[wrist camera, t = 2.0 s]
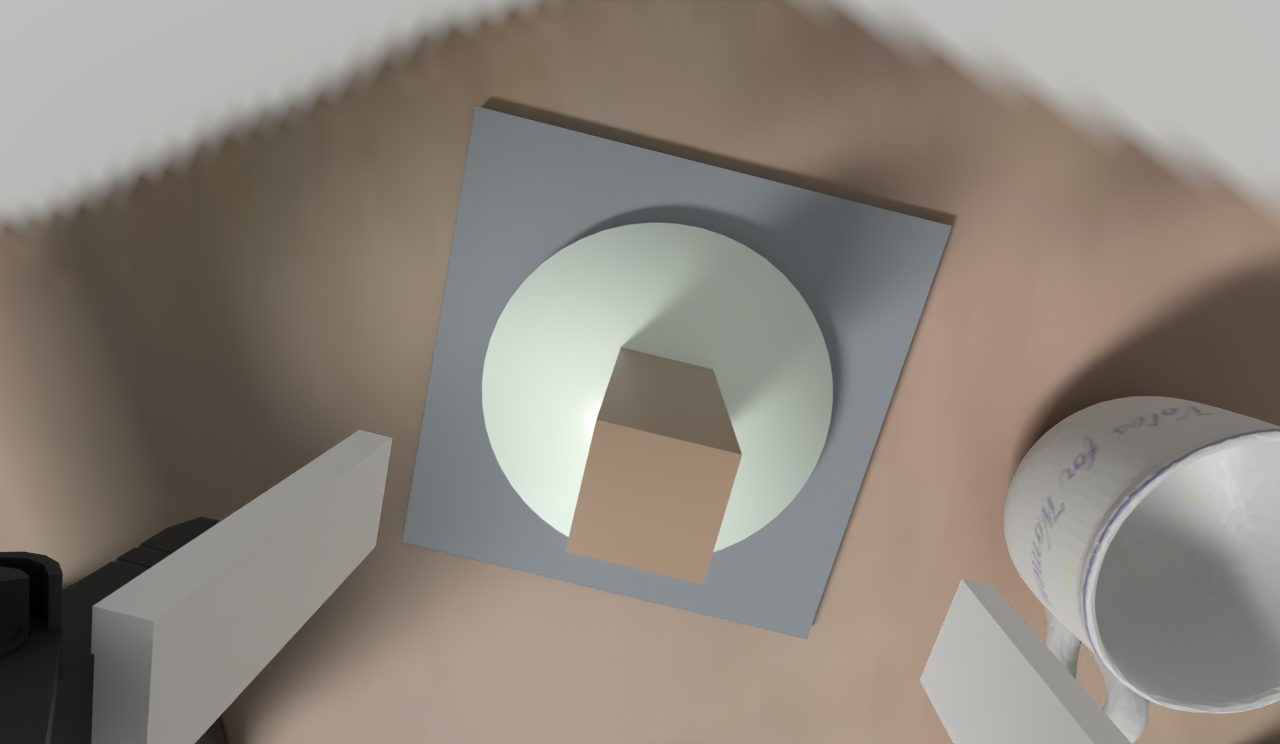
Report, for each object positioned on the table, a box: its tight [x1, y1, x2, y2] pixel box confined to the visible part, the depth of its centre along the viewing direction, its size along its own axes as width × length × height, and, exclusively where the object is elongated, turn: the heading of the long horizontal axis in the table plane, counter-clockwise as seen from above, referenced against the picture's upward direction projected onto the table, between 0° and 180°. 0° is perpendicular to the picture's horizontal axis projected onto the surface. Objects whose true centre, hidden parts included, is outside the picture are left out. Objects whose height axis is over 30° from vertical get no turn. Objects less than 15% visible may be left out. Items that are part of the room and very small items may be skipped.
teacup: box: [1003, 396, 1280, 744], centre depth 25 cm, size 14×11×8 cm
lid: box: [482, 223, 833, 585], centre depth 23 cm, size 15×15×11 cm
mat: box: [402, 106, 952, 639], centre depth 28 cm, size 20×20×1 cm
